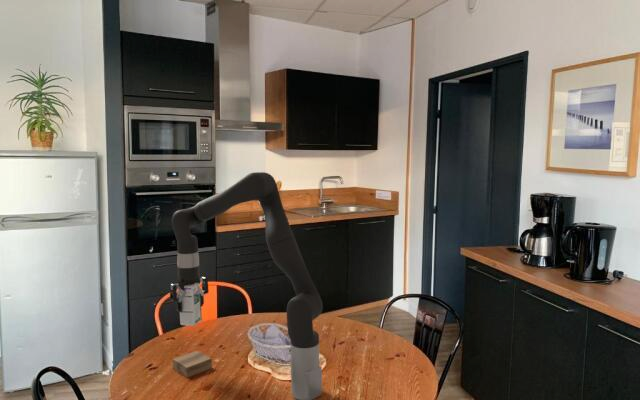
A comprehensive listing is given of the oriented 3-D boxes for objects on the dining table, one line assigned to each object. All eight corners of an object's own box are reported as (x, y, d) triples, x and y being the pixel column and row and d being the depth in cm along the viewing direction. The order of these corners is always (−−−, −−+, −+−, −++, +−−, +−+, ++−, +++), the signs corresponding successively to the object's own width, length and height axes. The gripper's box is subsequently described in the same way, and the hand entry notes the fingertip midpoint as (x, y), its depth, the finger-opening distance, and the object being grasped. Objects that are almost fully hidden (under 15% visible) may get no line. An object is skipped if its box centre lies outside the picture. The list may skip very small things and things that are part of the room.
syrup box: (194, 326, 168) (193, 286, 166) (179, 325, 169) (177, 285, 167) (202, 320, 173) (200, 281, 172) (187, 319, 175) (185, 281, 173)
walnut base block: (211, 369, 173) (211, 358, 173) (187, 378, 166) (186, 367, 166) (197, 360, 180) (196, 350, 180) (173, 369, 173) (172, 358, 173)
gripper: (175, 270, 161) (177, 316, 163) (211, 262, 171) (213, 306, 173) (164, 266, 166) (166, 311, 168) (200, 259, 177) (202, 301, 178)
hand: (190, 308), depth 171 cm, fingers closed on syrup box, 8 cm apart
